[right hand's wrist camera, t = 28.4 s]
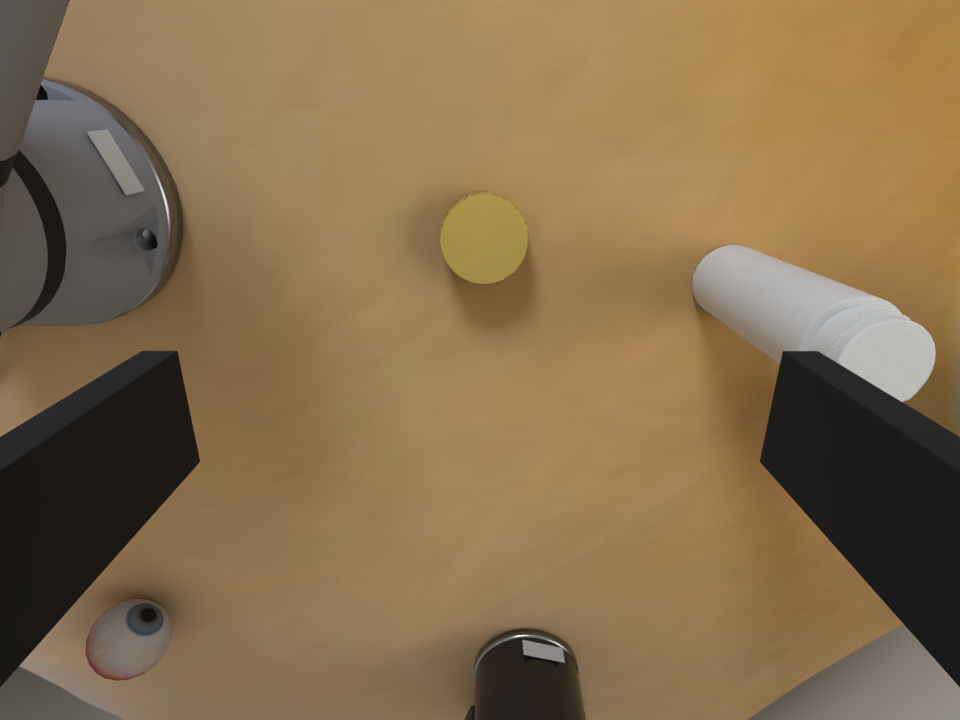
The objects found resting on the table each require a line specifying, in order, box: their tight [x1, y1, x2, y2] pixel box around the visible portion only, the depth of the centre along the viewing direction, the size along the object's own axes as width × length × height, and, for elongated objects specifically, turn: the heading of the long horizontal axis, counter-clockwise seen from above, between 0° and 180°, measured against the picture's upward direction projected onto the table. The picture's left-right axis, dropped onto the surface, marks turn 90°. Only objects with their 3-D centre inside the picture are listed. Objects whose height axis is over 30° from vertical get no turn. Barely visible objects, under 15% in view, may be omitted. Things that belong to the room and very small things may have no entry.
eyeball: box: [86, 599, 172, 680], centre depth 46 cm, size 6×6×6 cm
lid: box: [440, 191, 529, 284], centre depth 36 cm, size 6×6×2 cm
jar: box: [692, 245, 936, 402], centre depth 31 cm, size 5×5×16 cm
